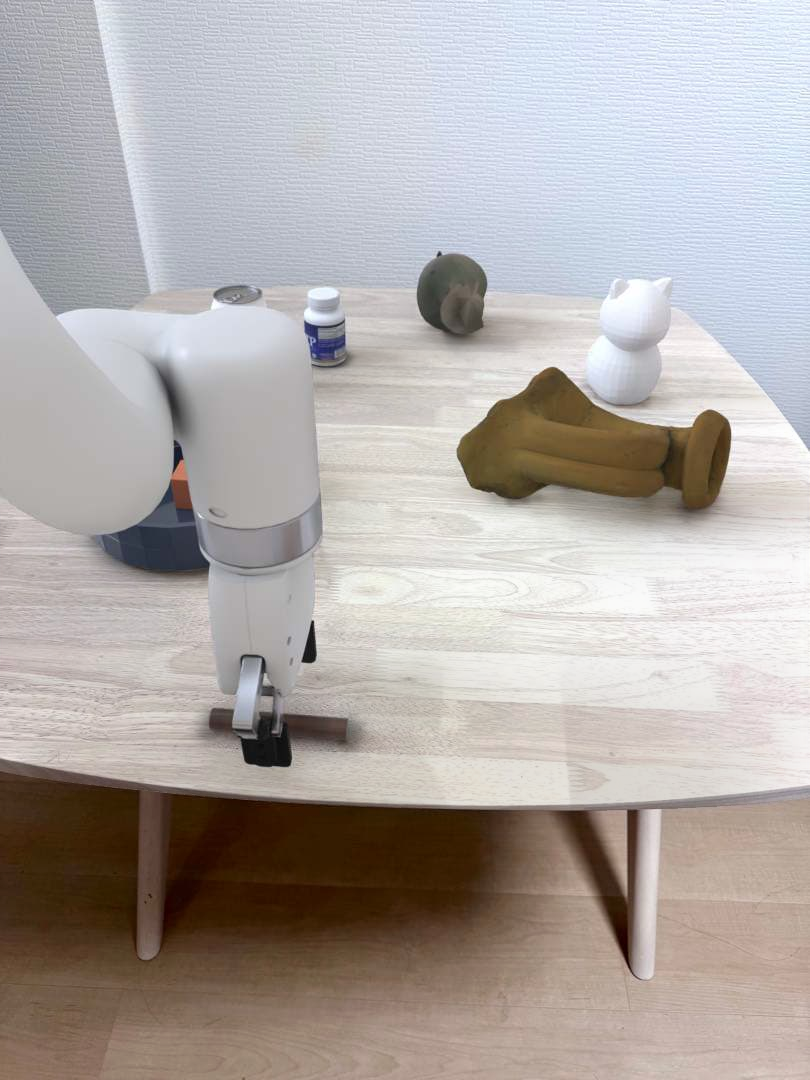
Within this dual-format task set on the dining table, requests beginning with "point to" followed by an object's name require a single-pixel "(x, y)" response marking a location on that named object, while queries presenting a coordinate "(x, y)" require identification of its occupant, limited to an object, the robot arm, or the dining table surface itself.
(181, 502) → the block
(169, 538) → the bowl
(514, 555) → the dining table surface
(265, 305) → the can
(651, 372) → the cat figurine
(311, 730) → the stick
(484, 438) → the brown looped sculpture
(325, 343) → the pill bottle
